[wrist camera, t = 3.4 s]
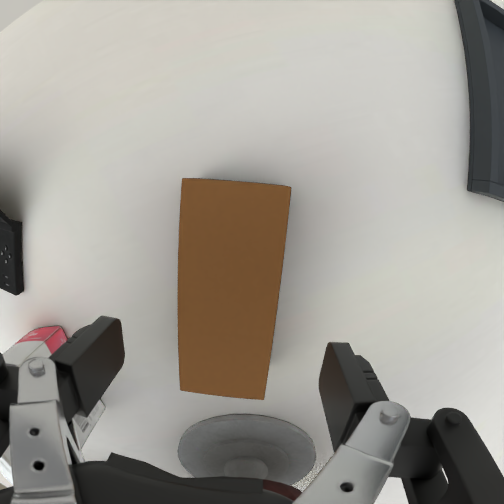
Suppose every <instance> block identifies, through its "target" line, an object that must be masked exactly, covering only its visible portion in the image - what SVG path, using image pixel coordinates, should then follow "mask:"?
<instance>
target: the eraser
mask: <svg viewBox="0 0 504 504" xmlns="http://www.w3.org/2000/svg"><path fill="white" fill-rule="evenodd" d="M290 195H291V187H288V186H284V185H275V184H265V183H254V182H242V181H230V180H216V179H200V178H183V179H182V187H181V203H180V221H179V247H178V353H179V377H180V390H182V391H188V392H194V393H201V394H209V395H217V396H225V397H235V398H245V399H258V400H264V396H265V390H266V383H267V377H268V370H269V363H270V357H271V350H272V343H273V336H274V329H275V321H276V314H277V306H278V299H279V291H280V283H281V275H282V267H283V259H284V250H285V241H286V233H287V224H288V214H289V205H290Z"/></svg>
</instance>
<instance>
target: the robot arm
mask: <svg viewBox="0 0 504 504" xmlns="http://www.w3.org/2000/svg"><path fill="white" fill-rule="evenodd" d="M124 358H125V351H124V343H123V335H122V326H121V322H120V320H119V319H117V318H112V317H107V316H100V317H99V318H98V319H97V320H96V321H95V322H94V323H93V324H91V325H88V326H86V327H83V328H81V329H79V330H78V331H77V332H76V333H74V334H73V335H72V337H70V338H69V339H68V340H67V341H66V342H65V343H64V344H62V345H61V346H60V347H59V348H58V349H57V350H56V351H55V352H54V353H53V354H52V355H51V356H50V357H48V358H46V357H33V358H30V359H28V360H26V361H24V362H23V363H22V364H21V365H20V367H16V366H8V365H6V363H5V360H4V357H3V355H2V354H1V353H0V458H1V456H2V455H3V454H4V452H5V451H6V449H7V448H8V446H9V445H10V456H11V469H12V478H13V486H12V487H9V488H6V489H2V490H0V504H374V502H375V500H376V499H377V497H378V495H379V493H380V491H381V489H382V488H383V486H384V484H385V482H386V480H387V478H388V477H399V478H401V479H402V483H403V486H404V489H405V492H406V496H407V499H408V503H409V504H504V477H503V475H502V473H501V472H500V470H499V468H498V466H497V465H496V463H495V461H494V459H493V458H492V456H491V454H490V452H489V451H488V449H487V447H486V446H485V444H484V442H483V441H482V439H481V438H480V436H479V434H478V433H477V431H476V430H475V428H474V426H473V425H472V423H471V422H470V420H469V419H468V417H467V416H466V415H465V414H464V413H463V412H461V411H459V410H457V409H454V408H442V409H439V410H438V411H437V412H436V413H435V414H434V416H433V418H432V420H429V419H419V418H411V417H410V414H409V412H408V411H407V409H406V408H405V407H403V406H402V405H400V404H398V403H395V402H392V401H389V399H388V397H387V395H386V393H385V391H384V389H383V387H382V385H381V384H380V382H379V380H377V376H376V374H375V373H374V371H373V369H372V367H371V365H370V363H369V362H368V361H367V360H365V359H364V358H363V357H362V356H360V355H354V353H353V351H352V349H351V347H350V345H349V343H338V342H329V343H328V345H327V347H326V352H325V356H324V360H323V364H322V368H321V372H320V377H319V392H320V396H321V400H322V404H323V408H324V412H325V416H326V420H327V424H328V429H329V433H330V437H331V441H332V445H333V450H334V452H335V453H334V454H333V456H332V457H331V458H330V460H329V461H328V462H327V464H326V465H325V466H324V467H323V469H322V470H321V471H320V472H319V473H318V475H317V476H316V477H315V478H314V480H313V481H312V482H311V483H310V484H309V485H308V487H307V488H306V489H305V490H304V491H303V492H302V493H301V495H300V496H299V497H298V498H297V499H296V500H295V501H293V500H291V499H289V498H287V497H285V496H283V495H280V494H278V493H275V492H272V491H269V490H265V489H263V479H251V478H238V477H227V476H219V477H202V478H181V477H178V476H175V475H173V474H170V473H168V472H166V471H164V470H161V469H159V468H157V467H155V466H153V465H150V464H148V463H146V462H143V461H139V460H135V459H132V458H128V457H125V456H121V455H118V454H115V453H111V454H110V456H109V458H108V460H107V461H88V462H85V461H84V458H83V455H82V451H81V447H80V444H79V440H78V436H77V432H76V428H75V424H74V421H73V417H74V416H75V414H77V415H80V416H83V417H86V418H87V417H88V416H89V414H90V413H91V411H92V410H93V408H94V407H95V405H96V404H97V402H98V401H99V400H100V398H101V397H102V395H103V394H104V392H105V391H106V389H107V388H108V386H109V385H110V383H111V382H112V380H113V379H114V378H115V376H116V375H117V373H118V372H119V370H120V369H121V367H122V366H123V363H124ZM442 468H443V469H444V471H445V474H446V476H447V478H448V483H447V480H446V478H445V476H444V473H443V471H442Z"/></svg>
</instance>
